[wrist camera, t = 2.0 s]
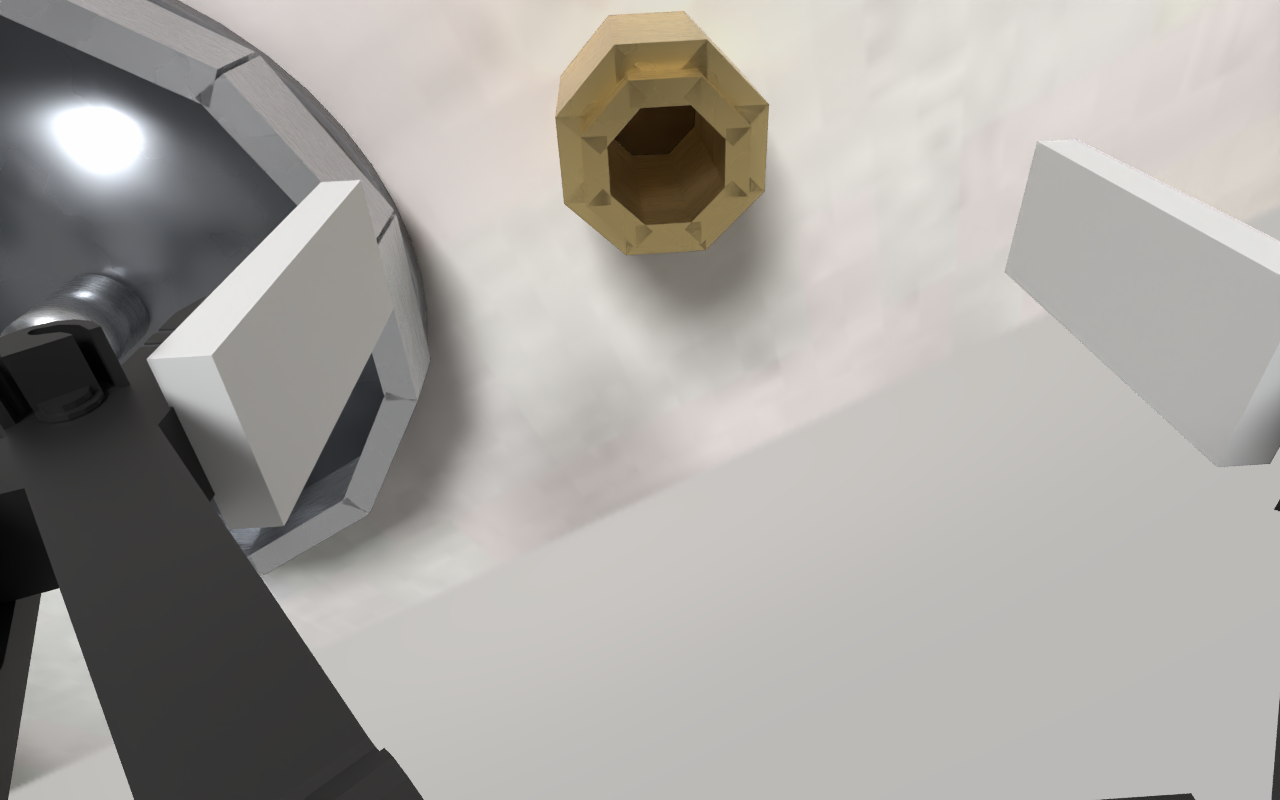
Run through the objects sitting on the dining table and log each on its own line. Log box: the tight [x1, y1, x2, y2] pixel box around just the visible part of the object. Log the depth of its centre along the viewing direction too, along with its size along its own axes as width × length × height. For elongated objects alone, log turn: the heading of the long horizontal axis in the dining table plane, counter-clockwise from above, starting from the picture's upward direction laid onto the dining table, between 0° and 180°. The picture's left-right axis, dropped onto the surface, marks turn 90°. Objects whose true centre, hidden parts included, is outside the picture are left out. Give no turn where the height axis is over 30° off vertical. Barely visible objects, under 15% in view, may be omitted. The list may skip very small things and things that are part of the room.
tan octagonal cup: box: [555, 11, 769, 255], centre depth 20 cm, size 5×5×6 cm
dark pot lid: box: [0, 0, 431, 576], centre depth 23 cm, size 20×20×4 cm
